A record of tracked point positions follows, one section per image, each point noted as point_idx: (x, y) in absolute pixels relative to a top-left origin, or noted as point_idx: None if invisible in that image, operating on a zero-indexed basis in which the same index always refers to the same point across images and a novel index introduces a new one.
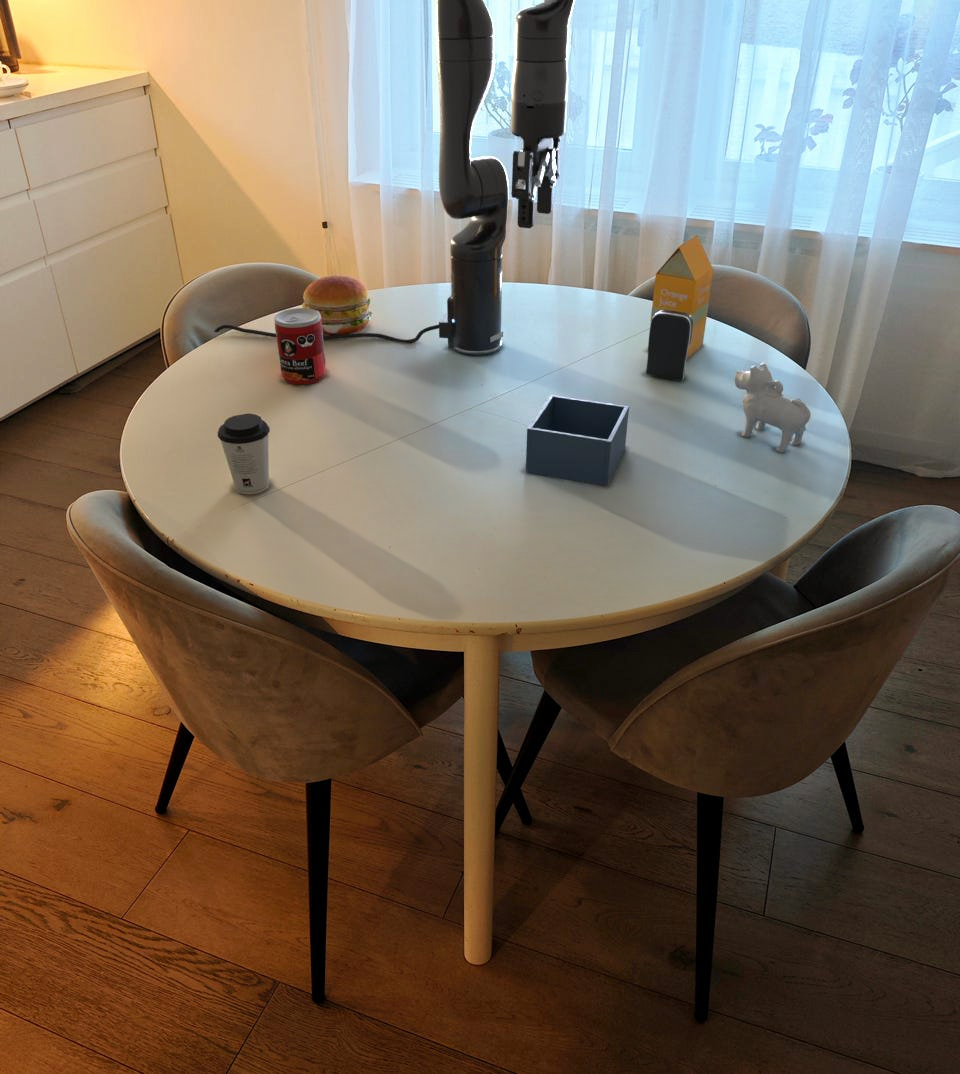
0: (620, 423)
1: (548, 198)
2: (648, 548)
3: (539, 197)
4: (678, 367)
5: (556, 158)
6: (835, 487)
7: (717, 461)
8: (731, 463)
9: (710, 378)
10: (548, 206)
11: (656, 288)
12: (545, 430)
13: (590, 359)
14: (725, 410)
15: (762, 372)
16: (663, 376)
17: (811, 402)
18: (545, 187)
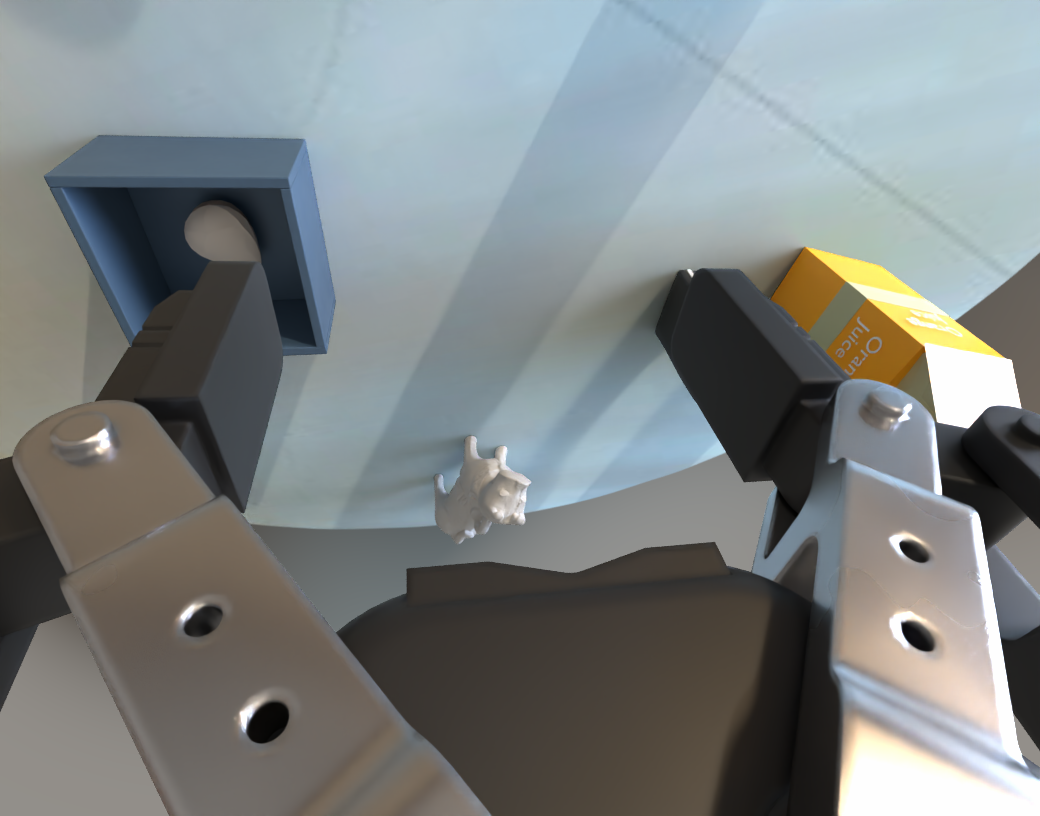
0: None
1: (713, 403)
2: (31, 398)
3: (747, 339)
4: (665, 340)
5: (1014, 703)
6: (366, 528)
7: (366, 424)
8: (370, 439)
9: (674, 368)
10: (688, 368)
11: (894, 329)
12: (73, 225)
13: (768, 128)
14: (549, 406)
15: (495, 522)
16: (666, 303)
17: (603, 483)
18: (769, 440)
